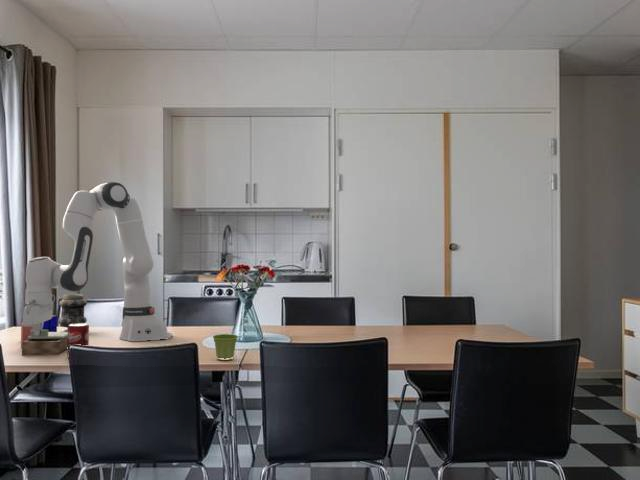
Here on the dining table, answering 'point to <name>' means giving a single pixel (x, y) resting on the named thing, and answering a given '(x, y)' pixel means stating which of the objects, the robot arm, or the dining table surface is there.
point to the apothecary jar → (72, 310)
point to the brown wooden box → (44, 346)
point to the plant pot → (225, 345)
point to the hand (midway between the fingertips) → (38, 334)
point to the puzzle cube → (50, 324)
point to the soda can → (78, 334)
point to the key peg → (25, 333)
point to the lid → (48, 335)
